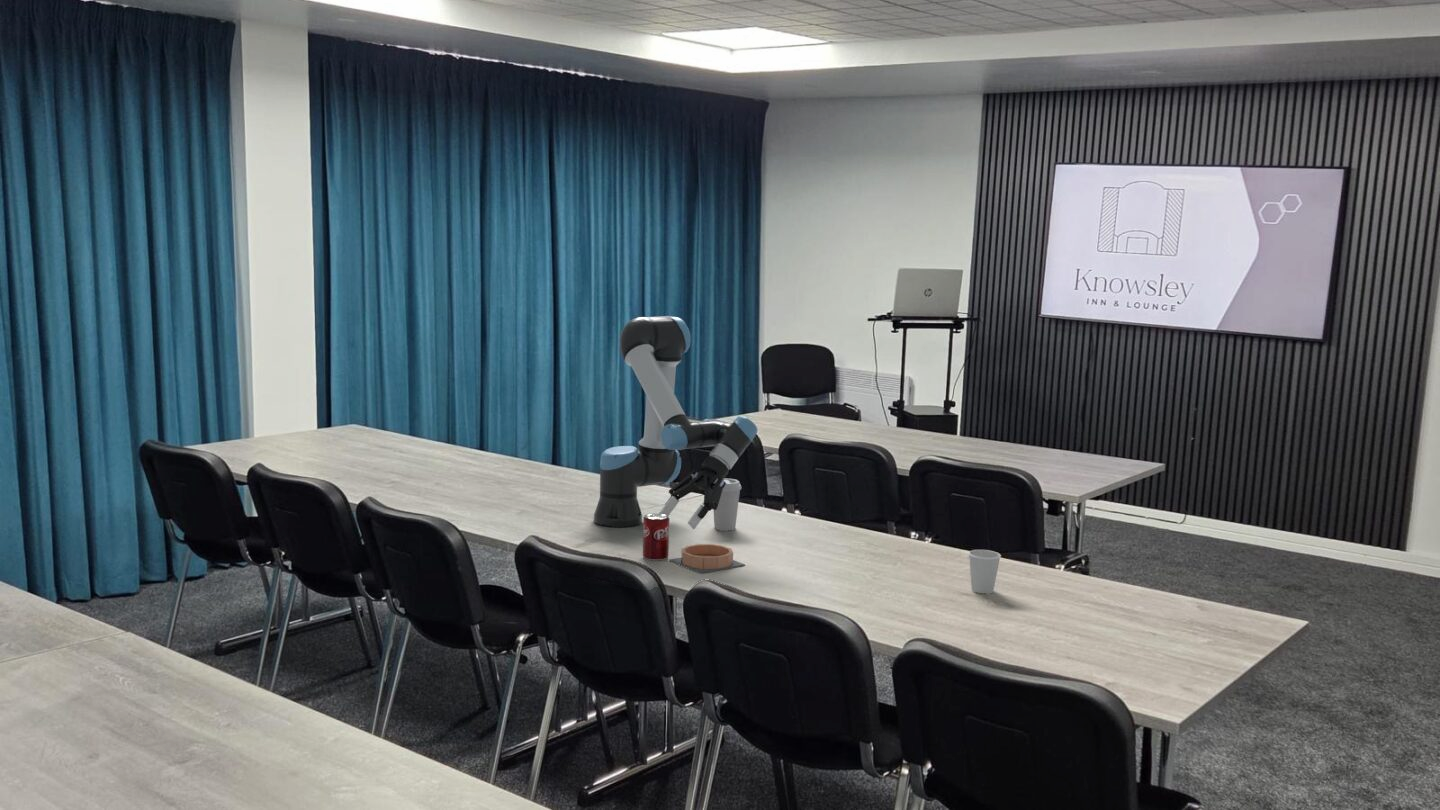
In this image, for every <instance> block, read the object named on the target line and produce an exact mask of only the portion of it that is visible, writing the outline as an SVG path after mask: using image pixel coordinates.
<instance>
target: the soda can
mask: <svg viewBox="0 0 1440 810" xmlns="http://www.w3.org/2000/svg"><path fill="white" fill-rule="evenodd" d="M642 523H643V524H642V525H643V527H642V528H643V529H642V558H644V559H645V560H646V559H647V561H650V560H655V561H654V562H659V561H658V560H662V561H665V560H667V559H668V558H669V556H670V555H669V553H670V552H669V551H670V549H669V548H670V516H667V515H665V514H659V513H647V514H645V515H644V517H642Z"/></svg>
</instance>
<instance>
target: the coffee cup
mask: <svg viewBox="0 0 1440 810" xmlns="http://www.w3.org/2000/svg"><path fill="white" fill-rule="evenodd" d="M723 480H724V481H725V482H726V485H725V486H724V488H723V490H722V493H721V497H720V500H719V504H718V507H717V509H716V510H713V525H714V527H713V528H714V529H715V530H717V531H722V532H731V531H735V530H736V524H737V517H738V508H739V500H740V493H741V492H740V491H741V490H742V485H741V483H740V481H739V480H738V479H736V478H735V479H734V478H724V479H723ZM728 530H729V531H728ZM730 530H731V531H730Z"/></svg>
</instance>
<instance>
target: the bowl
mask: <svg viewBox="0 0 1440 810" xmlns="http://www.w3.org/2000/svg"><path fill="white" fill-rule="evenodd" d="M680 553H681V554H680V555H681V556H680V557H675V558H671V559H668V561H669V560H670V561H669V562H671V561H672V562H671V563H673V562H675V563H674V564H676V563H677V564H676V565H678V564H680V565H679V566H681V565H682V566H681V567H683V566H685V567H684V568H686V567H687V569H688V568H689V569H688V570H691V569H692V570H691V571H693V570H694V571H693V572H696V571H697V572H696V573H698V572H699V574H702V573H703V574H708V573H713V572H719V571H724V570H730V569H735V568H740V567H744V566H746V564H745V563H742V562H740V561H737V560H735V559H734V551H733V549H732V548H731V547H727V546H726V545H722V544H720V545H719V544H712V543H696V544H690V545H685V547H683V548H681V551H680ZM703 574H702V575H703Z"/></svg>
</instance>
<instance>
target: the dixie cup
mask: <svg viewBox="0 0 1440 810" xmlns="http://www.w3.org/2000/svg"><path fill="white" fill-rule="evenodd" d="M968 557H969V570H970V571H969V574H970V585H971V586H970V587H971V588H970V589H972V590H971V591H972V592H973V591H974V593H976V592H978V593H977V594H980V593H986V594H985V595H989V594H990V593H991V594H993V593H994V590H995V586H996V580H997V575H998V569H999V564H1000V560H1001V559H1000V558H1002V554H1000V553H999V552H996V551H994V550H989V549H972V550H970V551H968Z"/></svg>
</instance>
